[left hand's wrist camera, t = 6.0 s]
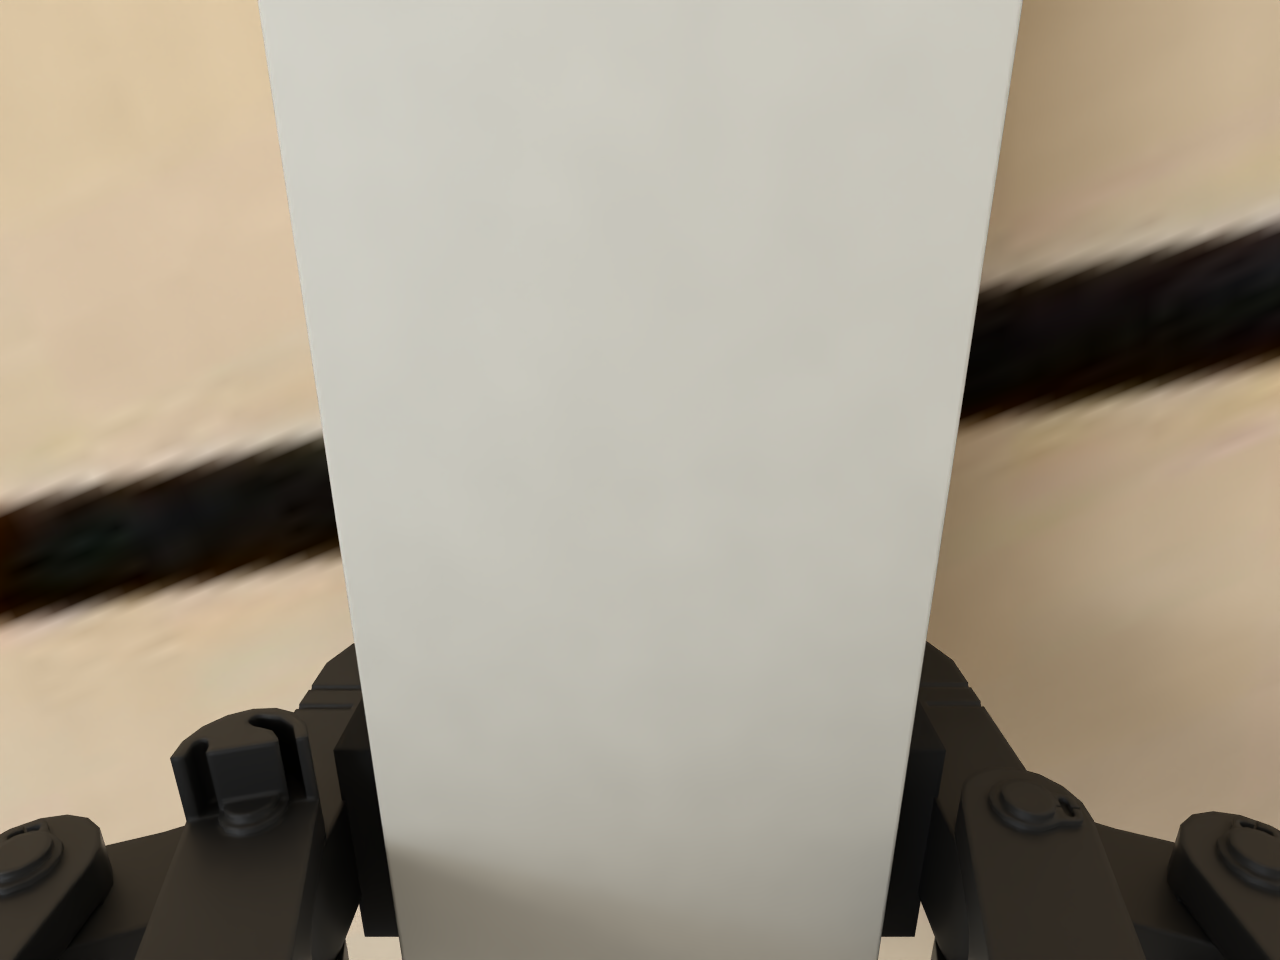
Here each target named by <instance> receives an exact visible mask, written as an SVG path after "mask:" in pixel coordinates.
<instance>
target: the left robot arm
mask: <svg viewBox="0 0 1280 960" xmlns="http://www.w3.org/2000/svg"><path fill="white" fill-rule="evenodd" d="M980 703H981V702H980V700H979V699H978V697H977V696H976V694H975V693H974V691H973V690H972V688H971V687H968V682H967V681H966V679H965V678H964V676H963V675H962V673H961V672H960V670H959V669H958V667H957V666H956V664H955V663H954V661H953V660H952V659H950V658H949V657H948V656H946V655H945V654H943V653H942V652H941V651H939V650H938V649H937V648H935V647H934V646H932V645H931V644H930V643H928V642H927V641H926V644H925V651H924V657H923V664H922V671H921V677H920V684H919V690H918V697H917V704H916V710H915V717H914V723H913V730H912V737H911V743H910V750H909V757H908V763H907V770H906V776H905V783H904V790H903V796H902V803H901V809H900V816H899V823H898V829H897V836H896V842H895V849H894V856H893V862H892V869H891V875H890V882H889V889H888V895H887V902H886V909H885V915H884V922H883V928H882V935H881V937H915V931H916V926H917V920H918V914H919V908H920V902H921V903H922V905H923V908H924V910H925V913H926V915H927V918H928V920H929V923H930V925H931V928H932V930H933V933H934V936H935V940H934V945H933V951H932V956H931V960H1280V831H1279V830H1277V829H1276V828H1274V827H1272V826H1270V825H1267V824H1264V823H1261V822H1259V821H1256V820H1253V819H1250V818H1247V817H1244V816H1241V815H1236V814H1228V813H1221V812H1214V811H1212V812H1206V813H1199V814H1193V815H1191V816H1190V817H1189V818H1188V819H1187V820H1185V821H1184V822H1183V823H1182V824H1181V825H1180V828H1179V832H1178V835H1177V838H1176V841H1175V843H1174V842H1170V841H1166V840H1161V839H1157V838H1153V837H1148V836H1144V835H1140V834H1136V833H1131V832H1127V831H1123V830H1118V829H1115V828H1111V827H1108V826H1105V825H1101V824H1098V823H1095V822H1094V820H1093V819H1092V817H1091V816H1090V814H1089V812H1088V811H1087V809H1086V808H1085V806H1084V805H1083V803H1082V802H1081V801H1080V800H1079V799H1077V798H1076V797H1075V796H1074V795H1073V794H1071V793H1070V792H1069V791H1068V790H1067V789H1065V788H1064V787H1063V786H1061V785H1059V784H1057V783H1055V782H1053V781H1051V780H1049V779H1048V778H1046V777H1044V776H1042V775H1040V774H1036V773H1033V772H1029V771H1027V770H1026V769H1025V767H1024V766H1023V764H1022V763H1021V761H1020V760H1019V758H1018V757H1017V755H1016V754H1015V753H1014V751H1013V750H1012V748H1011V747H1010V745H1009V744H1008V742H1007V741H1006V739H1005V738H1004V736H1003V735H1002V733H1001V732H1000V730H999V729H998V727H997V726H996V724H995V723H994V721H993V720H992V718H991V717H990V715H989V714H988V712H987V711H986V709H985V708H984V707H981V704H980ZM170 759H171V763H172V767H173V771H174V775H175V779H176V782H177V786H178V790H179V794H180V798H181V802H182V805H183V809H184V813H185V817H186V824H185V826H182V827H179V828H176V829H172V830H169V831H166V832H162V833H158V834H154V835H149V836H145V837H141V838H137V839H132V840H128V841H124V842H119V843H115V844H111V845H107V846H105V843H104V840H103V837H102V834H101V831H100V828H99V827H98V826H97V825H96V824H94V823H93V822H92V821H91V820H90V819H89V818H85V817H79V816H73V815H61V816H54V817H47V818H40V819H37V820H35V821H32V822H29V823H26V824H23V825H20V826H17V827H15V828H12V829H9V830H7V831H6V832H4V833H2V834H0V960H349V957H348V951H347V945H346V940H345V938H346V936H347V933H348V930H349V928H350V925H351V923H352V920H353V918H354V915H355V913H356V910H357V908H358V905H360V911H361V917H362V923H363V929H364V935H365V937H399V934H398V928H397V921H396V914H395V908H394V901H393V894H392V888H391V881H390V874H389V868H388V861H387V855H386V848H385V841H384V835H383V828H382V821H381V815H380V808H379V801H378V795H377V788H376V782H375V775H374V768H373V762H372V755H371V748H370V742H369V735H368V729H367V722H366V715H365V709H364V702H363V695H362V689H361V682H360V675H359V669H358V662H357V656H356V649H355V644H352V645H351V646H349V647H348V648H347V649H345V650H344V651H342V652H341V653H340V654H338V655H337V656H336V657H334V658H333V659H332V660H330V661H329V662H327V663H326V665H325V666H324V668H323V669H322V671H321V672H320V674H319V675H318V677H317V678H316V680H315V681H314V683H313V684H312V689H311V690H309V691H308V692H307V694H306V695H305V697H304V698H303V700H302V701H301V703H300V704H299V709H296V710H295V712H290V711H286V710H282V709H278V708H266V709H251V710H247V711H243V712H239V713H235V714H231V715H227V716H225V717H223V718H220V719H218V720H216V721H214V722H212V723H209V724H207V725H205V726H203V727H201V728H200V729H199V730H197V731H196V732H195V733H193V734H192V735H191V736H189V737H188V738H187V739H185V740H184V741H183V742H182V743H181V744H180V746H179V747H178V748H177V750H176V751H175V752H174V754H173V755H172V756H171V758H170Z"/></svg>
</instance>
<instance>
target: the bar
mask: <svg viewBox="0 0 1280 960" xmlns="http://www.w3.org/2000/svg"><path fill="white" fill-rule="evenodd" d="M1022 3H1023V0H258V5H259V12H260V18H261V25H262V32H263V38H264V45H265V52H266V58H267V65H268V72H269V78H270V85H271V91H272V98H273V105H274V111H275V118H276V125H277V131H278V138H279V145H280V151H281V158H282V164H283V171H284V178H285V184H286V191H287V198H288V204H289V211H290V218H291V224H292V231H293V237H294V244H295V251H296V257H297V264H298V271H299V277H300V284H301V291H302V297H303V304H304V310H305V317H306V324H307V330H308V337H309V344H310V350H311V357H312V364H313V370H314V377H315V383H316V390H317V397H318V403H319V410H320V417H321V423H322V430H323V437H324V443H325V450H326V456H327V463H328V470H329V476H330V483H331V490H332V496H333V503H334V510H335V516H336V523H337V529H338V536H339V543H340V549H341V556H342V563H343V569H344V576H345V583H346V589H347V596H348V602H349V609H350V616H351V622H352V629H353V636H354V642H355V649H356V656H357V662H358V669H359V675H360V682H361V689H362V695H363V702H364V709H365V715H366V722H367V729H368V735H369V742H370V748H371V755H372V762H373V768H374V775H375V782H376V788H377V795H378V801H379V808H380V815H381V821H382V828H383V835H384V841H385V848H386V855H387V861H388V868H389V874H390V881H391V888H392V894H393V901H394V908H395V914H396V921H397V928H398V934H399V941H400V947H401V954H402V960H878V955H879V948H880V942H881V935H882V928H883V922H884V915H885V909H886V902H887V895H888V889H889V882H890V875H891V869H892V862H893V856H894V849H895V842H896V836H897V829H898V823H899V816H900V809H901V803H902V796H903V790H904V783H905V776H906V770H907V763H908V757H909V750H910V743H911V737H912V730H913V723H914V717H915V710H916V704H917V697H918V690H919V684H920V677H921V671H922V664H923V657H924V651H925V644H926V638H927V631H928V624H929V618H930V611H931V604H932V598H933V591H934V585H935V578H936V571H937V565H938V558H939V552H940V545H941V538H942V532H943V525H944V519H945V512H946V505H947V499H948V492H949V486H950V479H951V472H952V466H953V459H954V452H955V446H956V439H957V433H958V426H959V419H960V413H961V406H962V400H963V393H964V386H965V380H966V373H967V367H968V360H969V353H970V347H971V340H972V333H973V327H974V320H975V314H976V307H977V300H978V294H979V287H980V281H981V274H982V267H983V261H984V254H985V248H986V241H987V234H988V228H989V221H990V215H991V208H992V201H993V195H994V188H995V181H996V175H997V168H998V162H999V155H1000V148H1001V142H1002V135H1003V129H1004V122H1005V115H1006V109H1007V102H1008V96H1009V89H1010V82H1011V76H1012V69H1013V63H1014V56H1015V49H1016V43H1017V36H1018V29H1019V23H1020V16H1021V10H1022Z"/></svg>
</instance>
